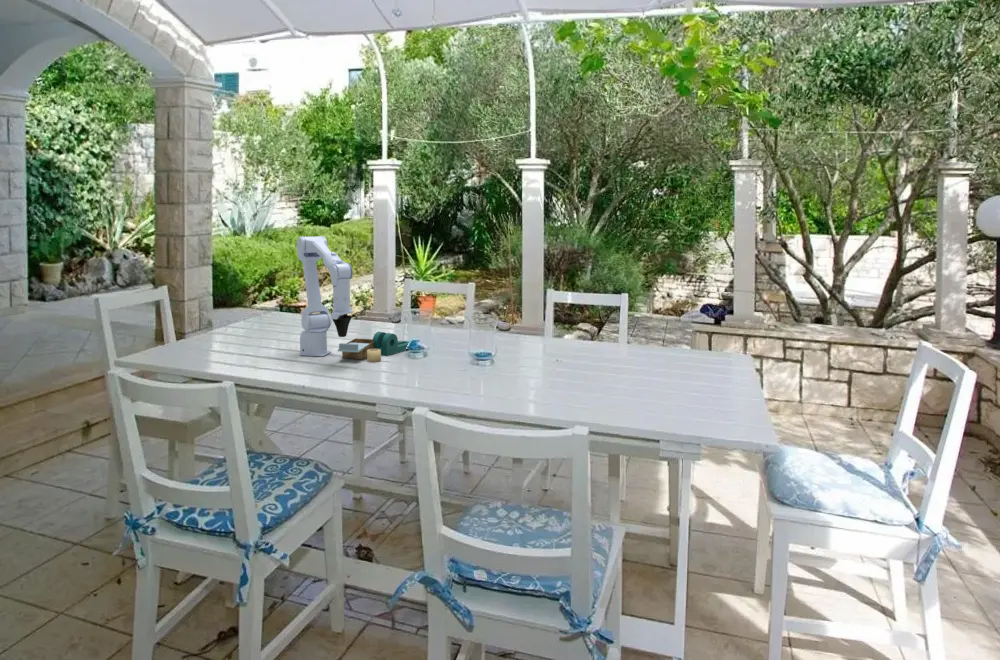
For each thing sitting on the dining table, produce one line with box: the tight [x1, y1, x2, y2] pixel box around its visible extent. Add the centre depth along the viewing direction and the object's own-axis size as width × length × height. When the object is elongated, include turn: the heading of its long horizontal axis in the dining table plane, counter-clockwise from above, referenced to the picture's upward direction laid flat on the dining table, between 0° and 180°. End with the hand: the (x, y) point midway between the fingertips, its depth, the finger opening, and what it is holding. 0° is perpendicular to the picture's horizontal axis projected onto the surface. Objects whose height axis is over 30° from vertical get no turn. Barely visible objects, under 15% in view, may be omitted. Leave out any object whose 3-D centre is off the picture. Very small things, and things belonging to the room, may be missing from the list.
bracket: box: [372, 331, 410, 356], centre depth 287 cm, size 18×7×8 cm, turn 150°
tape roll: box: [366, 349, 382, 363], centre depth 270 cm, size 5×5×4 cm
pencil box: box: [341, 337, 374, 360], centre depth 279 cm, size 9×14×5 cm, turn 171°
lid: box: [337, 342, 368, 353], centre depth 273 cm, size 8×13×3 cm, turn 171°
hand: (342, 336), depth 261 cm, fingers closed
